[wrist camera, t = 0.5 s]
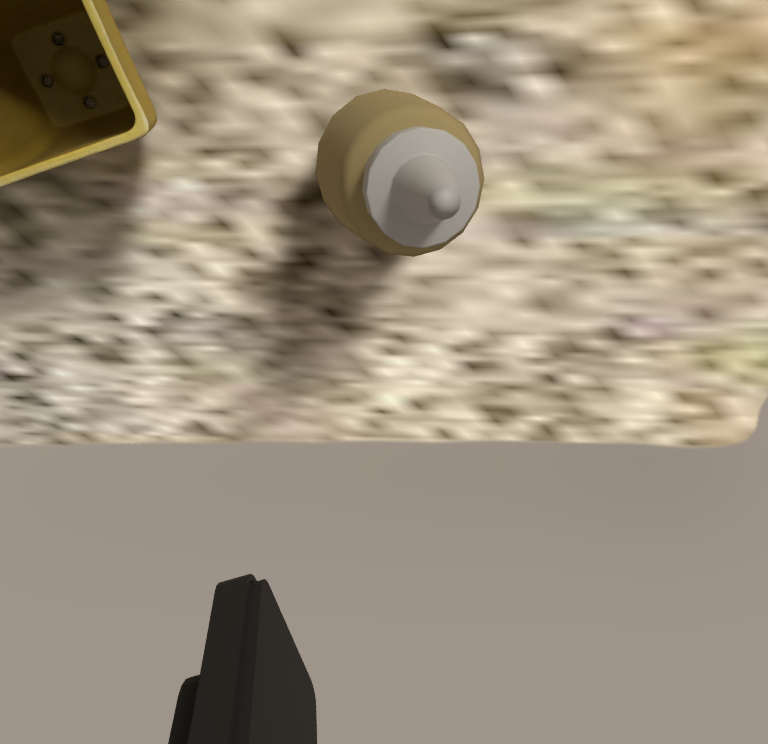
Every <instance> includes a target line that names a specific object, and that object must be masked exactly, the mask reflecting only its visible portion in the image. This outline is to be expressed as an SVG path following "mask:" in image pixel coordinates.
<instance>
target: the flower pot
mask: <svg viewBox="0 0 768 744" xmlns="http://www.w3.org/2000/svg"><path fill="white" fill-rule="evenodd" d="M58 33H59V34H61V35H63V36H64V38H65V42H64V44H63V45H57V44H56V43H55V41H54V36H55V34H58ZM100 56H104V57H105V58H106V59H107V60H108V65H107V67H104V68H103V67H100V66H99V65H98V63H97V60H98V58H99V57H100ZM45 75H48V76H50V77H51V78H52V80H53V85H52V86H50V87H48V86H45V85H44V84H43V82H42V78H43V76H45ZM86 97H92V98H93V99H94V100H95V103H96V104H95V106H94V107H92V108H90V107H88V106H86V104H85V98H86ZM156 122H157V115H156V112H155V109H154V107H153V104H152V102H151V100H150V98H149V96H148V94H147V92H146V89H145V87H144V85H143V83H142V81H141V78H140V76H139V74H138V72H137V70H136V68H135V65H134V63H133V61H132V59H131V57H130V55H129V52H128V50H127V48H126V46H125V43H124V41H123V39H122V37H121V34H120V32H119V30H118V28H117V25H116V23H115V21H114V19H113V16H112V14H111V12H110V9H109V7H108V5H107V2H106V0H0V187H3V186H5V185H8V184H11V183H14V182H16V181H19V180H22V179H25V178H28V177H30V176H33V175H36V174H38V173H41V172H44V171H47V170H50V169H53V168H56V167H59V166H62V165H64V164H67V163H70V162H73V161H76V160H79V159H82V158H85V157H87V156H90V155H93V154H96V153H99V152H102V151H105V150H107V149H111V148H113V147H116V146H119V145H122V144H125V143H128V142H132V141H134V140H137V139H140V138H142V137H144V136H145V135H146V134H147V133H148V132H149V131H150V130H151V129H152V128H153V127H154V126H155V124H156Z"/></svg>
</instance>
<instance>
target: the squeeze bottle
mask: <svg viewBox="0 0 768 744" xmlns="http://www.w3.org/2000/svg"><path fill="white" fill-rule="evenodd" d="M316 176H317V179H318V183H319V186H320V190H321V193H322V197H323V200H324V202H325V203H326V205H327V206H328V207H329V209H330V210H331V211H332V213H333V214H334V215H335V217H336V218H337V219H338V220H339V222H340V223H341V224H342V225H344V226H345V227H346V228H348V229H349V230H351V231H352V232H354V233H355V234H356V235H358V236H359V237H361V238H362V239H363V240H365V241H367V242H369V243H370V244H372V245H374V246H375V247H377V248H379V249H381V250H382V251H384V252H386V253H389V254H397V255H405V256H413V257H415V256H418V255H422V254H425V253H429V252H433V251H436V250H440V249H442V248H443V247H444V246H445V245H447V244H448V243H449V242H451V241H452V240H453V239H455V238H456V237H457V236H459V235H460V234H461V233H463V231H464V230H465V228H466V226H467V225H468V223H469V222H470V220H471V218H472V217H473V215H474V214H475V212H476V210H477V209H478V206H479V201H480V196H481V192H482V187H483V182H484V175H483V169H482V163H481V156H480V150H479V148H478V146H477V145H476V143H475V141H474V140H473V138H472V136H471V135H470V133H469V131H468V130H467V128H466V127H465V125H464V124H463V123H462V122H460V121H459V120H458V119H456V118H455V117H453V116H452V115H450V114H449V113H448V112H446V111H445V110H443V109H442V108H440V107H439V106H437V105H434V104H432V103H430V102H428V101H426V100H424V99H422V98H420V97H418V96H416V95H414V94H409V93H403V92H398V91H392V90H386V89H383V90H379V91H375V92H372V93H368V94H364V95H361V96H357V97H355V98H354V99H353V100H351V101H350V102H349V103H348V104H347V105H345V106H344V107H343V108H342V109H340V110H339V111H338V112H337V113H336V114H334V115H333V116H332V118H331V120H330V122H329V124H328V126H327V128H326V130H325V132H324V134H323V136H322V137H321V139H320V141H319V145H318V155H317V165H316Z"/></svg>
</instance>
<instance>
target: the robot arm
mask: <svg viewBox="0 0 768 744" xmlns="http://www.w3.org/2000/svg"><path fill="white" fill-rule="evenodd" d="M168 744H317V723H316V699H315V693H314V688H313V684H312V681H311V679H310V677H309V674H308V672H307V670H306V668H305V665H304V663H303V661H302V658H301V656H300V654H299V652H298V649H297V647H296V645H295V643H294V641H293V638H292V636H291V634H290V631H289V629H288V627H287V624H286V622H285V620H284V618H283V615H282V613H281V611H280V609H279V606H278V604H277V602H276V599H275V597H274V595H273V593H272V590H271V588H270V586H269V584H268V582H267V581H266V580H265V579H263V580H260V581H256V579H255V577H254V576H253V575H252V574H249V575H245V576H242V577H238V578H235V579H231V580H227V581H224V582H220V583H218V585H217V586H216V590H215V594H214V600H213V605H212V611H211V616H210V622H209V628H208V633H207V639H206V645H205V650H204V655H203V661H202V666H201V672H200V675H197V676H193V677H190V678H188V679H186V680H185V681H184V683H183V684H182V686H181V689H180V692H179V695H178V700H177V705H176V709H175V714H174V720H173V724H172V728H171V733H170V738H169V743H168Z"/></svg>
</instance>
